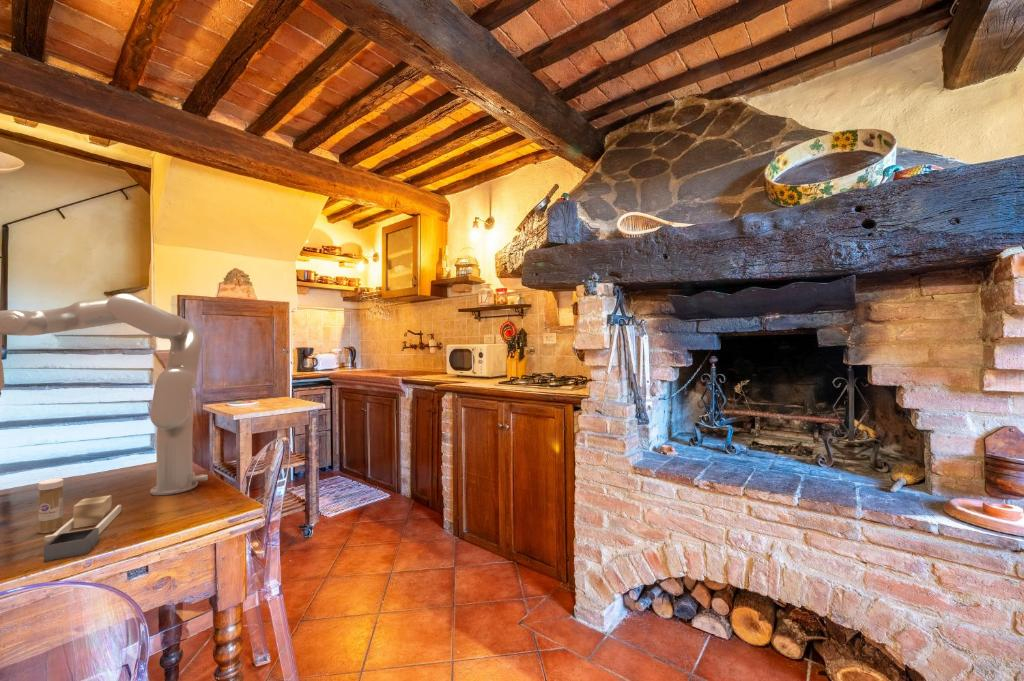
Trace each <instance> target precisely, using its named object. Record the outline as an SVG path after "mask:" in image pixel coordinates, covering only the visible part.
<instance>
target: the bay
mask: <svg viewBox="0 0 1024 681" xmlns="http://www.w3.org/2000/svg"><path fill="white" fill-rule="evenodd" d="M121 512H122V504H117V506H115V507H114V508H113V509H111V512H110V513H109V514H108V515H107V516H106V517H105V518H104V519H103V520H102V521H101V522H100V523H99V524H98V525H95V527H94V528H98V527H99V535H101V533H102V532H103V531H104V530H105V529H106V528H107V527H108V526H109V525H110V524H111V523H112V522H113V521H114V520H115V519H116V518H117V516H118V515H119V514H120V513H121ZM72 529H74V516H73V517H72V518H71V519H70V520H68V521H67V522H65V523H64V524H63V526H62V527H61V528H60V529H59V530H57V531H54V532H53V534H48V535H45V536H44V546H45V545H46V544H48V543H49V542H50V541H51V540H52V539H53V538H55V537H56V536H57V535H58V534H61V533H67V532H73V530H72ZM90 529H92V528H90ZM71 530H72V531H71ZM79 530H80V529H79ZM79 530H77V531H79ZM84 530H86V529H84Z"/></svg>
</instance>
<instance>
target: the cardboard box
mask: <svg viewBox="0 0 1024 681" xmlns="http://www.w3.org/2000/svg"><path fill="white" fill-rule="evenodd" d="M111 511H112V495H111V494H110V495H103V496H95V497H90V498H89V497H88V498H83V499H81V500H80V501H78V502H77V503H76V504H74V505H73V517H74V527H73V529H81V528H85V527H86V528H87V527H91V526H97V525H98V524H99V523H100V522H101V521H102V520H103V519H104V518H105V517H106V516H107V515H108V514H109V513H110V512H111Z"/></svg>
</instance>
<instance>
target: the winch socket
mask: <svg viewBox="0 0 1024 681" xmlns="http://www.w3.org/2000/svg"><path fill="white" fill-rule="evenodd" d="M72 531H73V530H72ZM72 531H69V532H67V533H61V534H58V535H57V536H56V537H55V538H53V539H52V540H51V541H50V542H49V543H48V544H46V545H45V544H44V546H43V562H49V561H57V560H61V559H68V558H72V557H79V556H82V555H87V554H88V553H89V552H90V551H91V550H92V549H93V548H94V547H95V545H97V543H99V541H100V540H99V539H100V538H99V537H100V534H99V527H98V528H95V527H93V528H92V529H91V528H87V529H86V530H85V529H79V531H78V530H74V531H73V532H72Z"/></svg>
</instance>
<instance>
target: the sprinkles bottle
mask: <svg viewBox="0 0 1024 681" xmlns="http://www.w3.org/2000/svg"><path fill="white" fill-rule="evenodd" d="M64 485H65V484H64V478H61V477H60V478H59V477H57V478H55V477H54V478H50V479H45V480H42V481H39V482H38V484H37V486H38V487H37V488H38V489H37V490H38V492H39V493H38V494H39V495H38V496H39V497H38V530H37V532H38V533H39V534H49V533H55V532H56V531H58V530H59V529H60V528H61V527H62V526H64V524H63V516H64V495H63V494H64V493H63V490H64V489H63V487H64Z"/></svg>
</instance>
